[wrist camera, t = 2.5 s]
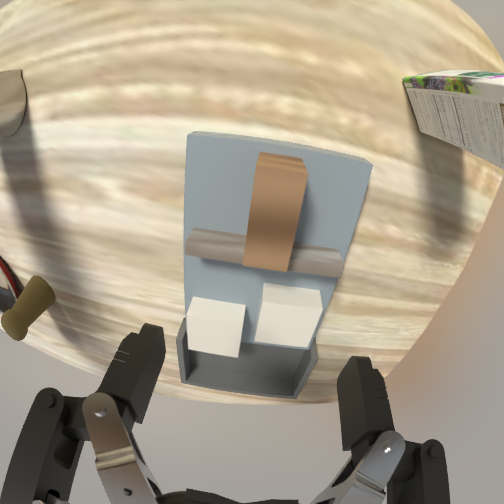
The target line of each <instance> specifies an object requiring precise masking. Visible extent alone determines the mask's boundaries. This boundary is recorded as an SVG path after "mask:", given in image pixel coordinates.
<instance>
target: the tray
mask: <svg viewBox="0 0 504 504" xmlns="http://www.w3.org/2000/svg"><path fill="white" fill-rule="evenodd" d="M176 344H177V353H178V361H179V369H180V376H181V383H185V384H189V385H194V386H199V387H205V388H210V389H216V390H222V391H228V392H235V393H242V394H250V395H258V396H267V397H278V398H290V399H297V397H298V395H299V393H300V392H301V390H302V388H303V386H304V384H305V382H306V380H307V378H308V377H309V375H310V373H311V371H312V369H313V367H314V365H315V363H316V361H317V351H316V341H315V337H314V340H313V342H312V344H311V347H310V349H309V350H305V349H295V348H285V347H277V346H268V345H260V344H253V343H246V342H240V347H239V354H238V358H236V357H230V356H223V355H217V354H211V353H206V352H200V351H195V350H190V349H188V336H187V332H186V318H184V319H183V321H182V324H181V327H180V330H179V332H178V335H177V338H176Z"/></svg>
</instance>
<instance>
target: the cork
mask: <svg viewBox="0 0 504 504" xmlns="http://www.w3.org/2000/svg"><path fill="white" fill-rule="evenodd" d="M54 301H55V295H54V292H53V290H52V288H51V287H50V286H49V284H48V283H47V282H46V281H45V280H44V279H42V278H41V277H39V276H33V277H32V278H31V279H30V281H29V282H28V284H27V285H26V287H25V288H24V290H23V291H22V293H21V294H20V296H19V298H18V299H17V301H16V302H15V304H14V306H13V307H12V309H9V310H7V311H6V312H4V314H3V315H2V318H1V324H2V327H3V328H4V330H5V331H6V333H7V334H8V335H9V336H10V337H12V338H13V339H14V340H17V341H20V340H23V339H24V338H25V336H26V334H27V332H28V327H29V326H30V325H31V324H32V323H33V322H34V321H35V320H36V319H37V318H38V317H39V316H40V315H41V314H42V313H43V312H44V311H45V310H46V309H47V308H48V307H49V306H51V305H52V304H53V303H54Z"/></svg>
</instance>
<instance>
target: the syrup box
mask: <svg viewBox="0 0 504 504" xmlns="http://www.w3.org/2000/svg"><path fill="white" fill-rule="evenodd" d="M403 82H404V85H405V88H406V90H407V93H408V96H409V99H410V102H411V105H412V107H413V111H414V114H415V116H416V120H417V123H418V126H419V129H420V132H422V133H425V134H427V135H430V136H433V137H435V138H438V139H440V140H443V141H445V142H448V143H450V144H452V145H455V146H457V147H459V148H462V149H464V150H466V151H468V152H470V153H472V154H474V155H477V156H478V157H481V158H483V159H485V160H487V161H489V162H490V163H492V164H494V165H496V166H498V167H500V168H502V169H504V73H499V72H489V71H476V70H442V71H434V72H428V73H423V74H418V75H414V76H410V77H406V78H403Z"/></svg>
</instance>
